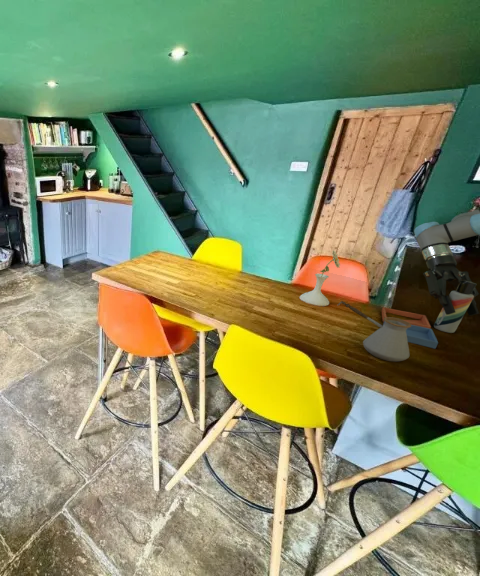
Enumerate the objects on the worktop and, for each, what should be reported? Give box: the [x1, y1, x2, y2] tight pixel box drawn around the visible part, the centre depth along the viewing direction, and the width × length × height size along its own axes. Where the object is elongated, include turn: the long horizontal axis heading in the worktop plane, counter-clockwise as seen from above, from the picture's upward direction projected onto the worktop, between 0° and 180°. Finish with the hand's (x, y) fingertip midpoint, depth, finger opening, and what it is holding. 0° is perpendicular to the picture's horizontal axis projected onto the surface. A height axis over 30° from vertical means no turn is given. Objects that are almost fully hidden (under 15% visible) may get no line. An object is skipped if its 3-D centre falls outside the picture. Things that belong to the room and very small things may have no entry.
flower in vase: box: [299, 250, 341, 307], centre depth 135 cm, size 13×11×25 cm
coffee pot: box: [337, 300, 411, 362], centre depth 100 cm, size 21×12×15 cm, turn 44°
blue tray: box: [382, 321, 439, 350], centre depth 111 cm, size 13×12×2 cm
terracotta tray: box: [380, 306, 432, 329], centre depth 121 cm, size 13×12×2 cm
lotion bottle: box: [433, 280, 477, 334], centre depth 112 cm, size 6×6×20 cm
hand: (462, 313), depth 110 cm, fingers open, 7 cm apart
